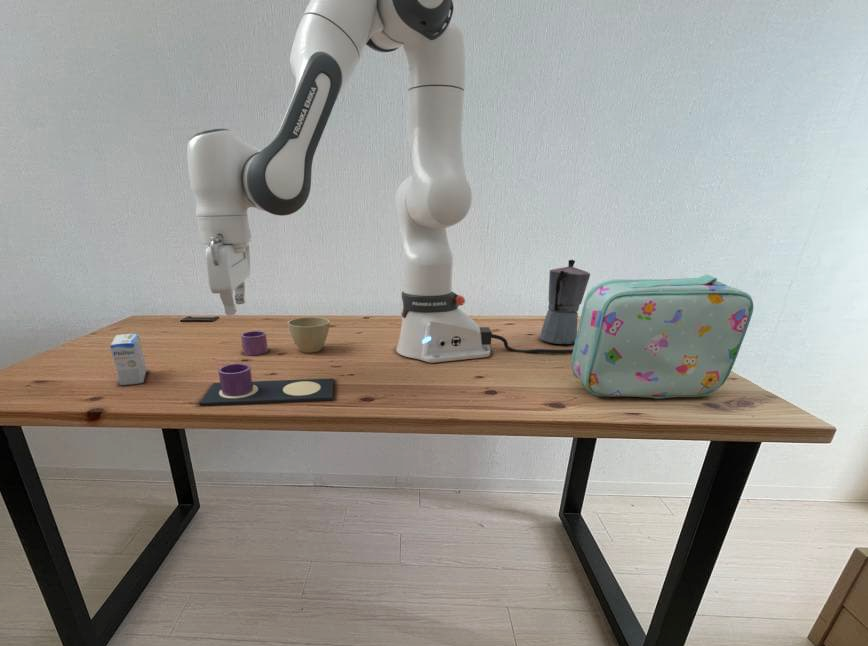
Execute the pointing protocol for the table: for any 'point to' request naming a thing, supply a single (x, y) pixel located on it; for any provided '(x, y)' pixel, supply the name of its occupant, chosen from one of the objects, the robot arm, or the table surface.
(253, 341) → the purple cup
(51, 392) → the table surface
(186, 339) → the table surface
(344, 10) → the robot arm
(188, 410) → the table surface
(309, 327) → the flower pot
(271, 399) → the mat
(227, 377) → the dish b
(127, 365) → the medicine box
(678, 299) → the lunch box
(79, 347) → the table surface
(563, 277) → the moka pot
